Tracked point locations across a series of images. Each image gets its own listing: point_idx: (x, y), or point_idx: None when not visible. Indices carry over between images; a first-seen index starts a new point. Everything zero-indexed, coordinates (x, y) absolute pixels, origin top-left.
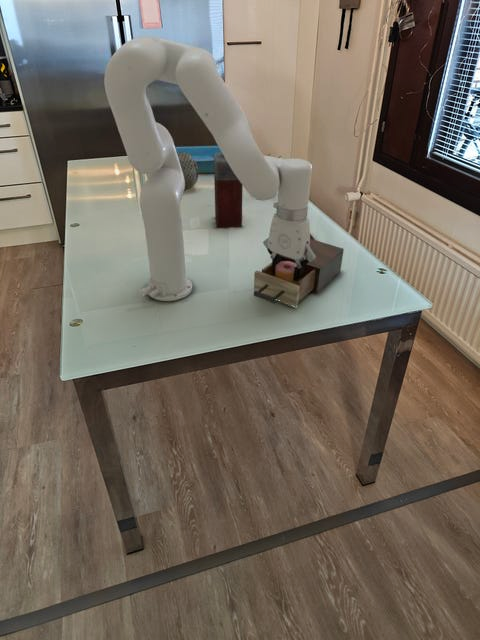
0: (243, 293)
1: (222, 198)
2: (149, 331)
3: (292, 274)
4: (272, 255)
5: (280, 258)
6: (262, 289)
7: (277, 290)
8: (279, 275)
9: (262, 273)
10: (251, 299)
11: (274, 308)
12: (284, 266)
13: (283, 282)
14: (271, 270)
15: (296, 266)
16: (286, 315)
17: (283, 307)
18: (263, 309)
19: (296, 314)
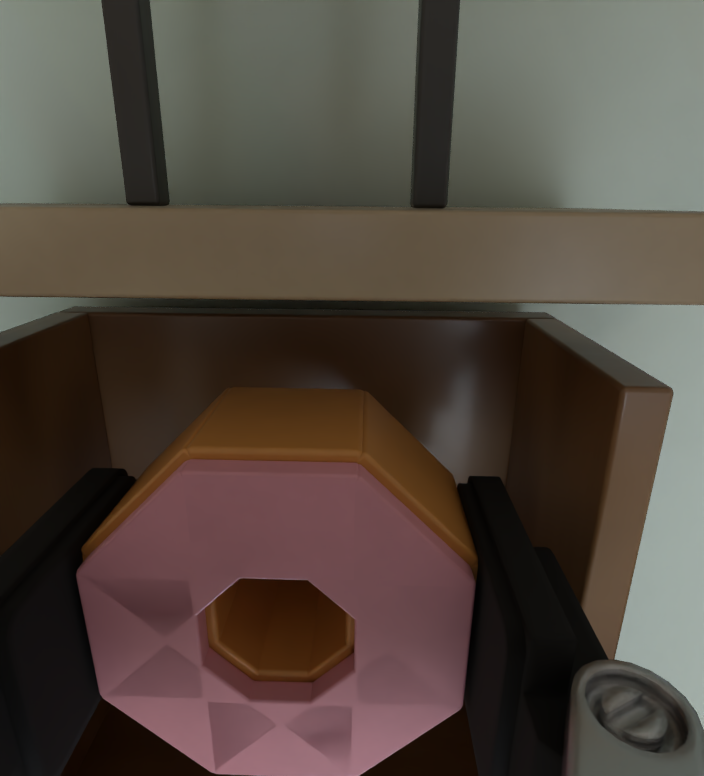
0: (684, 159)
1: None
2: None
3: (111, 513)
4: (661, 757)
5: (482, 768)
6: (419, 27)
7: (247, 206)
8: (317, 415)
9: (598, 260)
10: (548, 105)
11: (245, 106)
12: (345, 632)
13: (78, 209)
14: (548, 540)
15: (7, 678)
16: (68, 64)
17: (185, 185)
18: (330, 3)
19: (9, 151)
